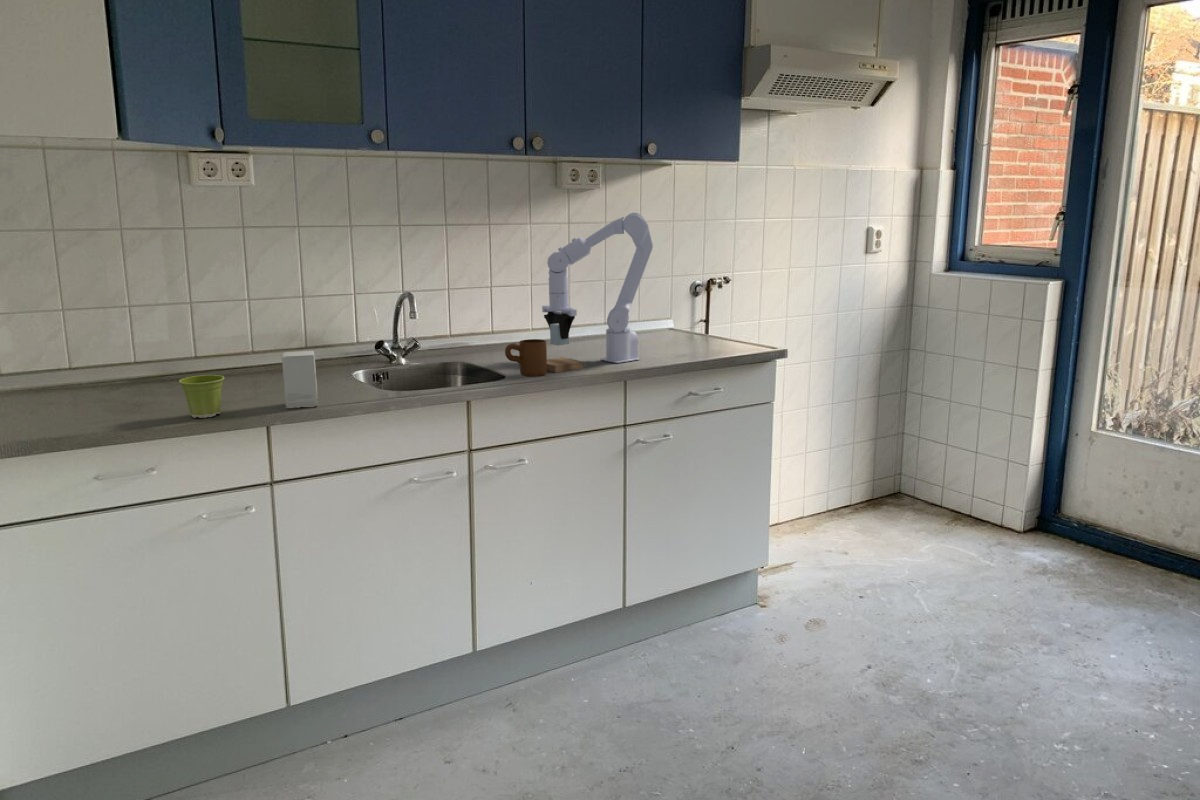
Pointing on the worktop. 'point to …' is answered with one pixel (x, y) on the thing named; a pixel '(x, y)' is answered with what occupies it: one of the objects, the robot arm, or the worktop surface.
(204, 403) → the plant pot
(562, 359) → the base
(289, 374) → the supplement box
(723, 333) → the worktop surface
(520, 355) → the mug
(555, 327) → the block
